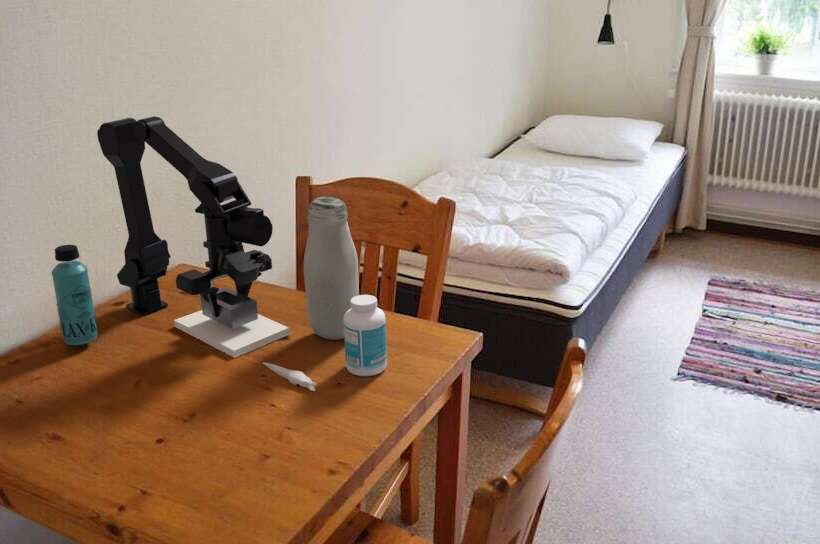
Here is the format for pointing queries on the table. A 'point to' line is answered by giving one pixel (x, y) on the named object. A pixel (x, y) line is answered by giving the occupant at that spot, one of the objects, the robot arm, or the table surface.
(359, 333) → the pill bottle
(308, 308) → the glass bottle
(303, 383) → the white elongated figurine
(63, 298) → the beverage bottle
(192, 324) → the keeper board
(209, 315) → the steel link
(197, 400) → the table surface
